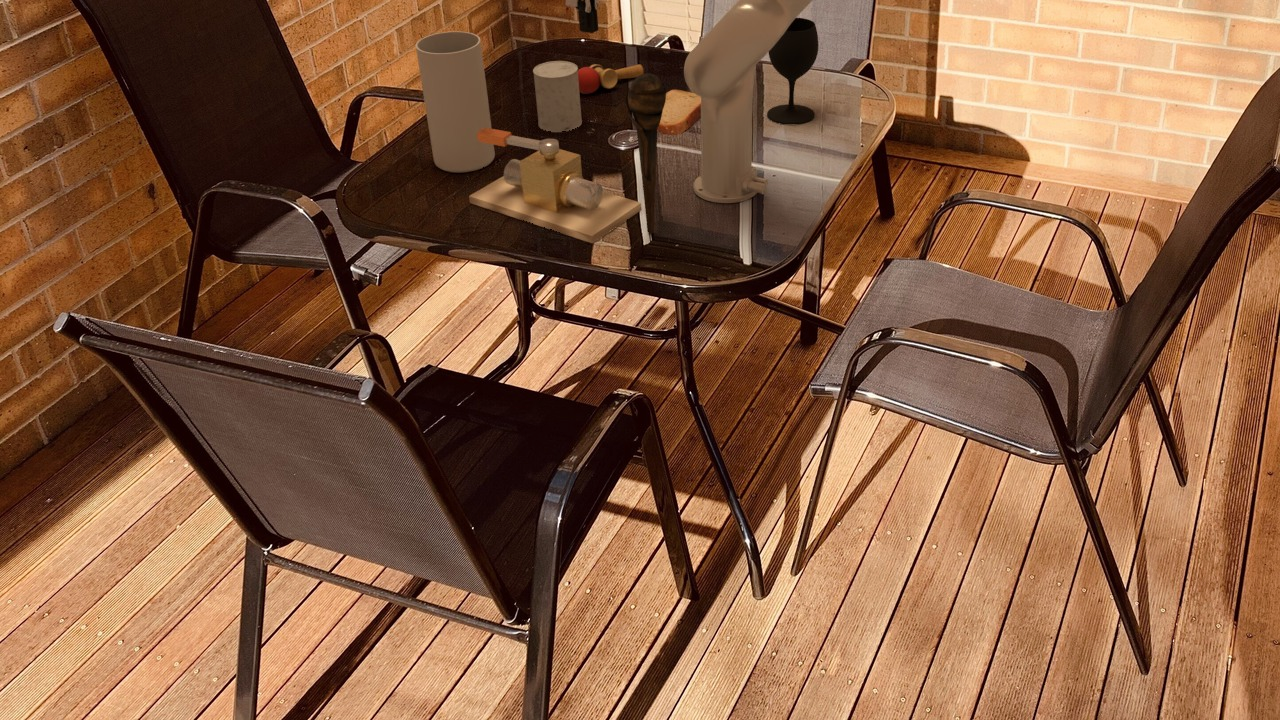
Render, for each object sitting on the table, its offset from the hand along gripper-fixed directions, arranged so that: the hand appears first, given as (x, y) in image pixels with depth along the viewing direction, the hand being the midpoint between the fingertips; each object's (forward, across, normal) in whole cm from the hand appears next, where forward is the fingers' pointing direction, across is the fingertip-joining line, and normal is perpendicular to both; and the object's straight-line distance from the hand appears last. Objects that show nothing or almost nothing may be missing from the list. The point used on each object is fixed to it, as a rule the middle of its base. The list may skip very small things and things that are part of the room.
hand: (589, 30), depth 212 cm
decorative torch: (+29, +16, +23) cm, 41 cm away
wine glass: (+29, -43, +19) cm, 55 cm away
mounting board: (+28, +17, +1) cm, 33 cm away
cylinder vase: (+28, +10, -28) cm, 41 cm away
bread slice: (+29, -32, -2) cm, 43 cm away
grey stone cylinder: (+28, -15, -22) cm, 39 cm away
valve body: (+27, +17, +1) cm, 32 cm away
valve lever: (+17, +18, -5) cm, 25 cm away
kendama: (+29, -38, -26) cm, 54 cm away
